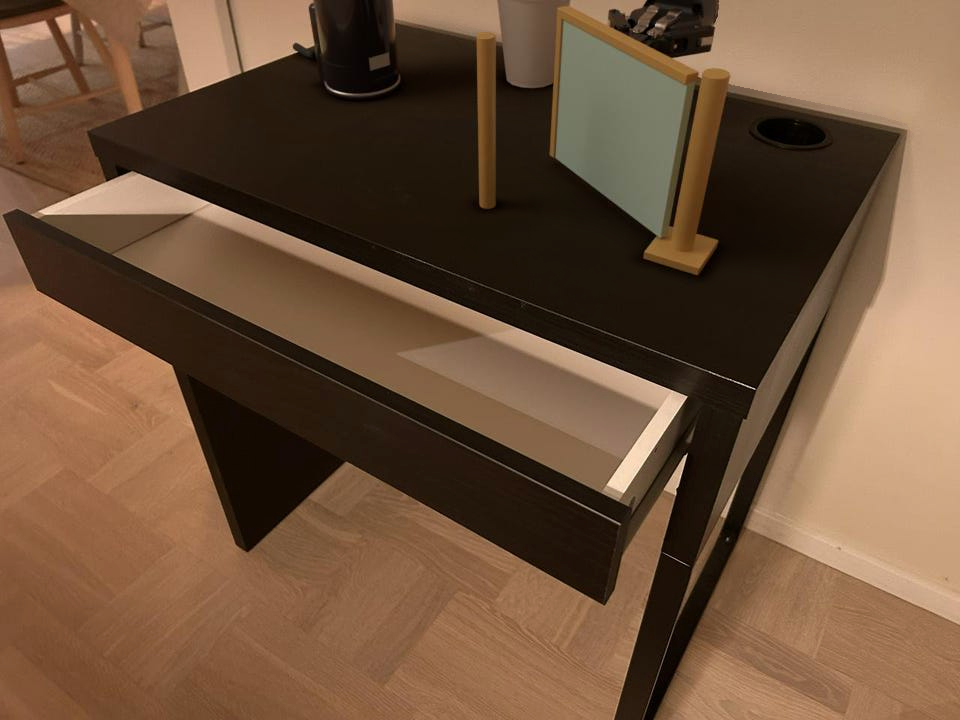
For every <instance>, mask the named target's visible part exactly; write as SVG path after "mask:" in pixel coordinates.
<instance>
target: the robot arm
mask: <svg viewBox="0 0 960 720" xmlns="http://www.w3.org/2000/svg"><path fill="white" fill-rule="evenodd" d="M718 3H719V0H645V2H644V4H643V5H642V6H641V7H639V8H636V9H633V10H632V11H631V12H630V14H629V15H626V13H625V12H621V11H620V10H619V9H616V8H611V9H609V10H608V15H607V24H606V25H607V26H609V27H611V28H613V29H615V30H617V31H619V32H621V33H623V34H625V35H627V36H629V37H631V38H633V39H635V40H637V41H639V42H641V43H643V44H645V45H647V46H649V47H651V48H653V49H655V50H656V51H658V52H660V53H662V54H664V55H666V56H668V57H670V58H672V59H676V58H681V57H682V58H683V57H688V56H693V55H698V54H699V55H700V54H705V53H711V51H712V48H713V47H712V46H713V42H714V38H715V31H716V27H715V24H716V23H717V22H716V19H717V17H718V10H719V4H718ZM394 9H395V8H394V0H312V2H311V3H310V4H309V6H308V14H309V21H310V27H311V32H312V38H313V45H314V46H311V48H310V49H308V48H306V47H305V46H304V45H301V44H300V43H298V42H294V43H293V44H292V49H293V50H294V51H295V52H297V53H299V54H300V55H301V56H303V57H305V58H306V59H307V58H308V59H311V60H314V59H316V63H317V70H318V76H319V83H320V85H321V86H324V87H325V90H326V92H327V93H329V94H330V95H332V96H334V97H337V98H341V99H345V100H369V99H376V98H380V97H383V96H386V95H390V94H391V93H394V92H395V91H396V90H397V89H398V88H399V87H400V86H401V74H400V70H399V57H398V45H397V43H398V42H397V34H396V23H395V22H396V21H395V11H394ZM715 22H716V23H715Z"/></svg>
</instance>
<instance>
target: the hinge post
mask: <svg viewBox="0 0 960 720" xmlns="http://www.w3.org/2000/svg"><path fill="white" fill-rule="evenodd" d="M730 79H731V73H730V72H729V71H728V70H726V69H723V68H717V67H716V68H715V67H712V68H711V67H710V68H706V69H704V70H703V71H702V74H701V79H700V84H699V90H698V95H697V99H696V100H697V101H696V105H695V110H694V115H693V120H692V127H691V131H690V132H691V133H690V138H689V142H688V147H687V153H686V158H685V163H684V170H683V175H682V180H681V185H680V186H681V187H680V190H679V195H678V200H677V206H676V212H675V216H674V222H673V226H670V225H669V229H668V234H667V236H665V237H662V238H659V237H658V236H657V235H656V236H655V237H654V239H652V241H651V242H650V244H649V245H648V246H647V247H646V249H645V250H644V252H643V258H642V259H644V260H646V261H650V262H654V263H656V264H659V265H663V266H665V267H668V268H672V269H674V270H675V269H676V270H679V271H682V272H684V273H688V274H692V275H694V276H699V275H700V274H701V272H702V271H703V269H704V267H705V266H706V264H707V263H708V261H709V260H710V258H711V257H712V255H713V254H714V253H715V251H716V250H717V248H718V244H719V240H718V239H715V238H713V237H709V236H706V235H702V234H699V233H698V227H699V223H700V218H701V215H702V211H703V205H704V200H705V195H706V191H707V186H708V182H709V176H710V172H711V168H712V163H713V158H714V154H715V150H716V149H715V148H716V144H717V139H718V135H719V130H720V125H721V121H722V116H723V111H724V108H725V107H724V106H725V102H726V97H727V92H728V87H729V83H730Z"/></svg>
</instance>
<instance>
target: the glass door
mask: <svg viewBox="0 0 960 720" xmlns="http://www.w3.org/2000/svg"><path fill="white" fill-rule="evenodd" d="M699 75H700V72H699V71H698V70H695V69H694V68H692V67H690V66H688V65H686V64H684V63H682V62H681V61H678V60H676V59H675V58H670V57H668V56H666V55H664V54H662V53H660V52H658V51H656V50H655V49H653V48H651V47H649V46H647V45H645V44H643V43H641V42H639V41H637V40H635V39H633V38H631V37H629V36H627V35H625V34H623V33H621V32H619V31H617V30H615V29H613V28H611V27H609V26H607V24H605V23H603V22H602V21H599V20H597V19H595V18H593V17H591V16H590V15H587V14H586V13H584V12H582V11H580V10H578V9H576V8H574V7H572V6H564V7H559V8H558V9H557V28H556V47H555V66H554V82H553V83H552V85H553V87H552V103H551V121H550V122H551V123H550V124H551V125H550V142H549V156H550V157H551V158H553V159H556V160H557V161H558V162H560V163H561V164H562V165H564V166H565V167H566V168H568V169H569V170H570V171H572V172H573V173H574V174H576V175H577V177H580V178H581V179H582V181H585V182H586V183H587V184H588V185H590V186H591V187H592V188H594V189H595V190H596V191H597V192H599V193H600V194H602V195H603V196H604V197H606V198H607V199H608V200H609V201H611V202H612V203H613V204H615V205H616V206H617V207H619V208H620V209H621V210H622V211H624V212H625V213H626V214H628V215H629V216H630V217H632V218H633V219H634V220H636V221H637V222H638V223H640V224H641V225H642V226H644V227H645V228H646V229H647V230H649V231H650V232H651V233H653V234H654V235H656V236H658V237H659V238H662V237H665V236H667V234H668V229H669V226H670V222H671V218H672V211H673V207H674V201H675V196H676V190H677V184H678V180H679V179H678V178H679V173H680V169H681V163H682V158H683V152H684V147H685V142H686V141H685V140H686V136H687V131H688V124H689V119H690V114H691V109H692V104H693V97H694V91H695V86H696V83H697V82H698V79H699Z"/></svg>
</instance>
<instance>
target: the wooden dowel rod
mask: <svg viewBox="0 0 960 720" xmlns="http://www.w3.org/2000/svg"><path fill="white" fill-rule="evenodd" d="M476 79H477V81H476V87H477V89H476V91H477V141H478V142H477V144H478V145H477V148H478V153H477V154H478V203H479V205H478V206H479V207H480V208H482V209H484V210H490V209H493V208H495V207H496V205H497V143H496V142H497V130H496V129H497V35H496V33H494V32H489V31H483V32H479V33H477V34H476Z"/></svg>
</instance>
